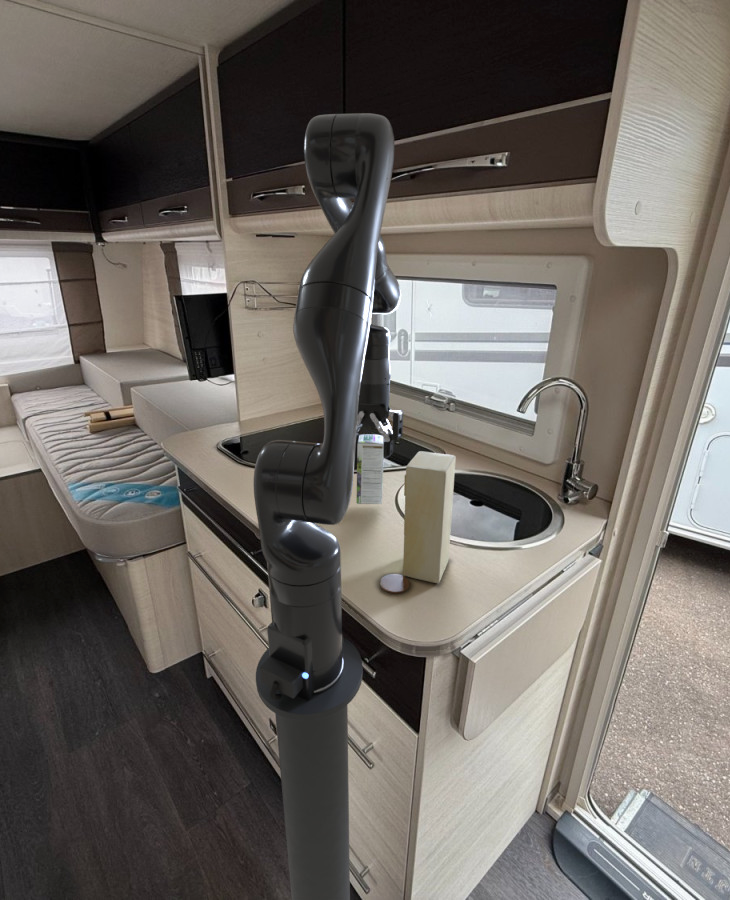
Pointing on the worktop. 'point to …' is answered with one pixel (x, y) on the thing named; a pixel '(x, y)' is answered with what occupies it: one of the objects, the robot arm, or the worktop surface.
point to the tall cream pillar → (428, 515)
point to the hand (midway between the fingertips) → (370, 453)
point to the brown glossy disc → (394, 583)
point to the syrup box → (370, 469)
